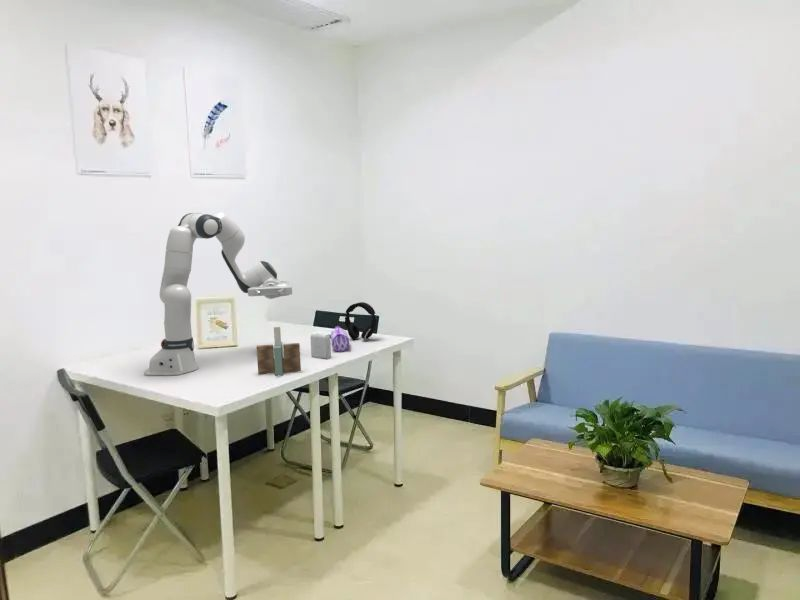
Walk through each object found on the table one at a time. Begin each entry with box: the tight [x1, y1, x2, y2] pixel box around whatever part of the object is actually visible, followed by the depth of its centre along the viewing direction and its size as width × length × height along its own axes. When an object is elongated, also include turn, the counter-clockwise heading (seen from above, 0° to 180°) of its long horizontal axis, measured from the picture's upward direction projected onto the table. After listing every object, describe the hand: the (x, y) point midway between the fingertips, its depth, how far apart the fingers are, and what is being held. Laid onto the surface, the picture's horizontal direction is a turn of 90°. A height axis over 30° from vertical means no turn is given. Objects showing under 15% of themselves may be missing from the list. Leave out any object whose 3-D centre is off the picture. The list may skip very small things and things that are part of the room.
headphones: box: [344, 301, 377, 341], centre depth 325 cm, size 18×8×20 cm, turn 61°
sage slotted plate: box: [273, 325, 284, 377], centre depth 266 cm, size 3×12×20 cm, turn 8°
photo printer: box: [310, 330, 332, 359], centre depth 291 cm, size 10×4×12 cm, turn 56°
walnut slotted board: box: [256, 342, 302, 375], centre depth 266 cm, size 18×2×12 cm, turn 98°
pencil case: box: [329, 325, 350, 353], centre depth 310 cm, size 22×9×9 cm, turn 10°
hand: (269, 293), depth 281 cm, fingers open, 8 cm apart
